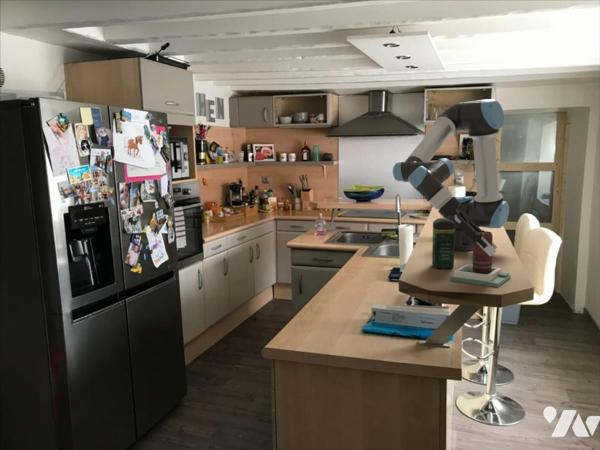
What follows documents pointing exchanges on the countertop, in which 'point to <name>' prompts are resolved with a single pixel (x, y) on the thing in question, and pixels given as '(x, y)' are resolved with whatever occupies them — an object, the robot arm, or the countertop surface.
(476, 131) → the robot arm
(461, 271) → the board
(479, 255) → the can
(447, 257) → the coffee jar
